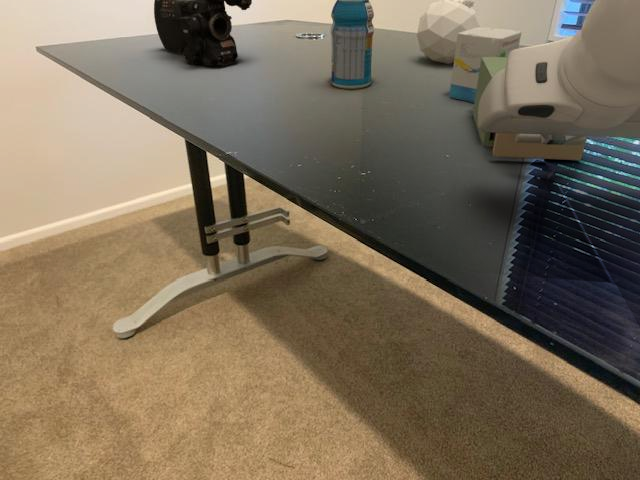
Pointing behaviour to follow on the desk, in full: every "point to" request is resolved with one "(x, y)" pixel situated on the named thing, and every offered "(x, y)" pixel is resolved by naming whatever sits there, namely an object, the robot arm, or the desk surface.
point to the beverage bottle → (351, 43)
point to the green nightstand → (486, 73)
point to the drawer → (535, 147)
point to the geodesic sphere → (445, 28)
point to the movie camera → (198, 29)
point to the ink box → (478, 57)
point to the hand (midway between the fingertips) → (553, 139)
